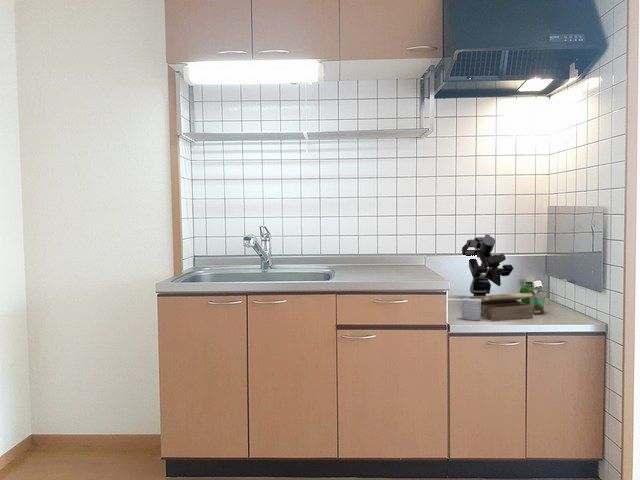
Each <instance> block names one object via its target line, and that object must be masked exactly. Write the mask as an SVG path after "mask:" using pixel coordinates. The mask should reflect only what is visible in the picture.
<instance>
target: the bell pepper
mask: <svg viewBox="0 0 640 480" xmlns="http://www.w3.org/2000/svg"><path fill="white" fill-rule="evenodd" d="M530 289H537V288H536V287H531V286H530V285H529V284H527V283H524V284H523V287H521V288H520V289H519V293H530ZM520 302H523V303H526V304H529V305H530V297H527V298H524V299H520Z"/></svg>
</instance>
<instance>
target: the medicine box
mask: <svg viewBox="0 0 640 480" xmlns="http://www.w3.org/2000/svg"><path fill="white" fill-rule="evenodd" d="M481 318H482V316H481V300H480V299H469V298H462V300H461V320H464V321H466V320H467V321H481V320H482V319H481Z"/></svg>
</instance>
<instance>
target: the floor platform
mask: <svg viewBox="0 0 640 480" xmlns="http://www.w3.org/2000/svg"><path fill="white" fill-rule="evenodd" d="M490 295H491V294H488V295H486V296H473V295H472V296H468V299H480V298H484V297H487V296H490ZM481 318H484V319H487V320H490V321H492V322H495V321H497V322H499V321H510V320H523V319H524V320H525V319H533V318H534V314H533V305H530V304H526V303H523V302H521V301H520V300H516V301H500V302H483V303H481Z"/></svg>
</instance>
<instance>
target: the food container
mask: <svg viewBox="0 0 640 480" xmlns="http://www.w3.org/2000/svg"><path fill="white" fill-rule="evenodd" d="M530 293H532V296H531V297H530V304H529V305H533V315H542V314H544V310H545V299H546V297H548V296H547V292H546V291H545V290H543V289H539V288H536V289H530Z"/></svg>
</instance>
